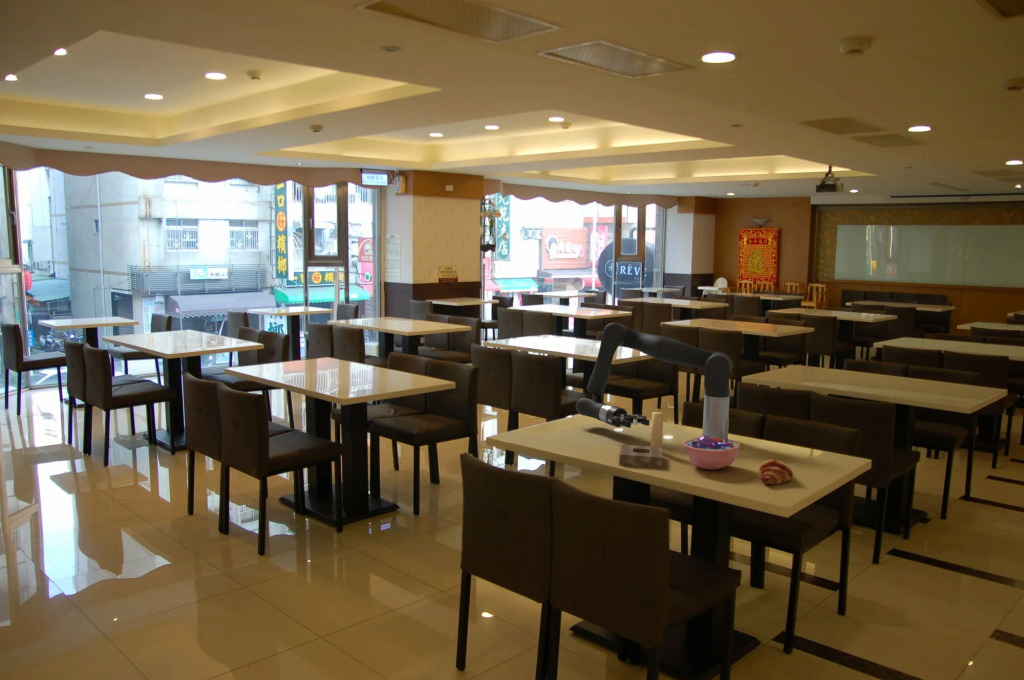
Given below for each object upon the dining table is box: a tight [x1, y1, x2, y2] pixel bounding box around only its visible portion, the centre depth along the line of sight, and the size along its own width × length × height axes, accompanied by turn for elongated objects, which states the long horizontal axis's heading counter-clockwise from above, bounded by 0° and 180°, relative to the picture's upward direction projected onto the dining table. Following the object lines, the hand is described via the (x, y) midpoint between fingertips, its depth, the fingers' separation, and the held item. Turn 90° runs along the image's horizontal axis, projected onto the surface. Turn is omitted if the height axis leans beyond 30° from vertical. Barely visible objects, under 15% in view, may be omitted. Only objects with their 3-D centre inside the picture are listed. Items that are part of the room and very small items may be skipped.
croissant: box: [758, 459, 794, 486], centre depth 242 cm, size 21×10×8 cm, turn 147°
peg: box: [650, 411, 664, 448], centre depth 271 cm, size 4×4×14 cm
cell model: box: [682, 435, 741, 471], centre depth 253 cm, size 17×20×11 cm
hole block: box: [618, 444, 663, 469], centre depth 259 cm, size 14×14×4 cm
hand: (639, 424), depth 280 cm, fingers open, 8 cm apart
